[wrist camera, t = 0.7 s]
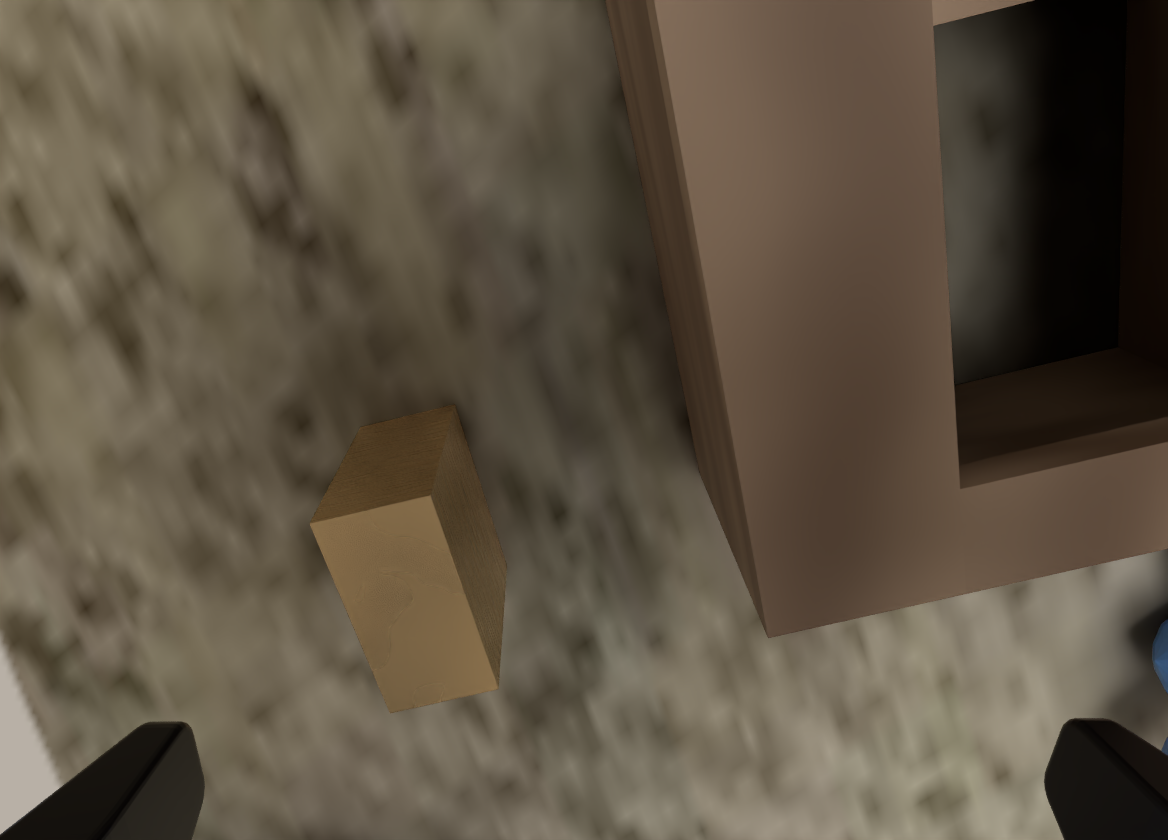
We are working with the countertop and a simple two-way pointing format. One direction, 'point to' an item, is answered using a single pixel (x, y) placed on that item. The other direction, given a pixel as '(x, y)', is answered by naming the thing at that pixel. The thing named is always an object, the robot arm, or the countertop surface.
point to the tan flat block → (416, 559)
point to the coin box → (878, 313)
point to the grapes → (1161, 661)
